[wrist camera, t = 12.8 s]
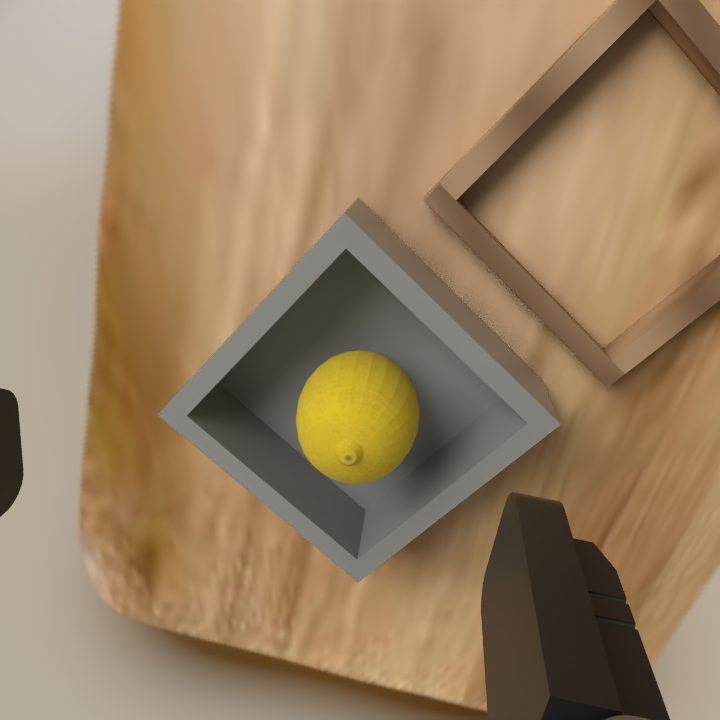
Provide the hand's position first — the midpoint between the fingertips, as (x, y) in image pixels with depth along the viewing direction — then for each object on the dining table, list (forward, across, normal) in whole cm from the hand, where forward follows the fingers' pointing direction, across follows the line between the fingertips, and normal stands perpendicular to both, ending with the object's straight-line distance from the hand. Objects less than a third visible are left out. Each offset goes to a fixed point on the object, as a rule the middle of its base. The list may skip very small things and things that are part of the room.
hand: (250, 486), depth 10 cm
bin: (+22, 0, +8) cm, 23 cm away
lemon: (+21, 0, +8) cm, 22 cm away
